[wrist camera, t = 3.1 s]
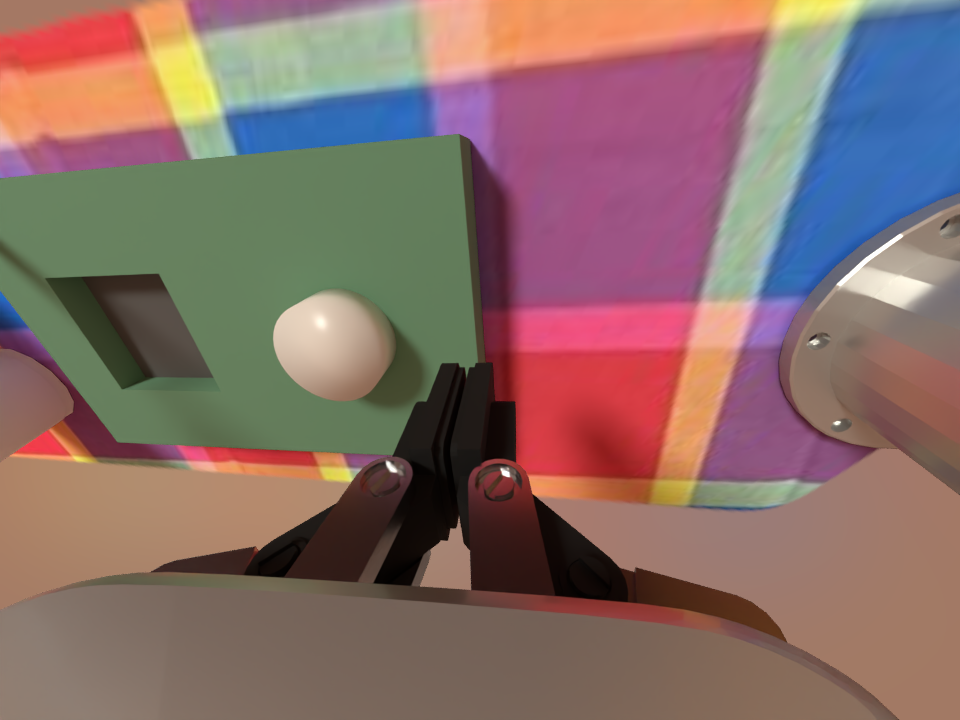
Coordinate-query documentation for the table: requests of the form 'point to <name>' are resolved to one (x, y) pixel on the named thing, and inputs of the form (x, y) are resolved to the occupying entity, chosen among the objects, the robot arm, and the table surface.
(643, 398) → the table surface
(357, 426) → the putting mat
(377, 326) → the cream rounded stone
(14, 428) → the foam cup
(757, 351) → the table surface
